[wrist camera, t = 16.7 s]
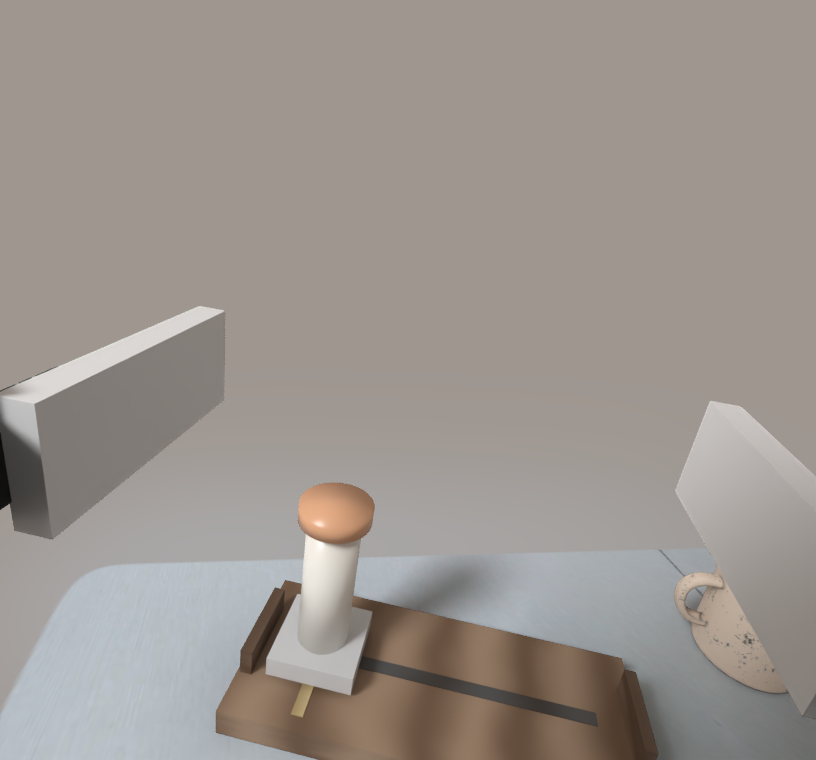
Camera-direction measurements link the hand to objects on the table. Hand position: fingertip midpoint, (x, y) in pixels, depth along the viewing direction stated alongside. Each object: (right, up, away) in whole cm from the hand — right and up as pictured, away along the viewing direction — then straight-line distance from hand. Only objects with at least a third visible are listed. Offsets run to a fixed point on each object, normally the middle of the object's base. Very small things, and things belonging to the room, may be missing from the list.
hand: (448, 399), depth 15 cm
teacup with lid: (+27, -24, +33) cm, 49 cm away
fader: (-8, -19, +25) cm, 32 cm away
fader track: (+1, -23, +24) cm, 34 cm away
